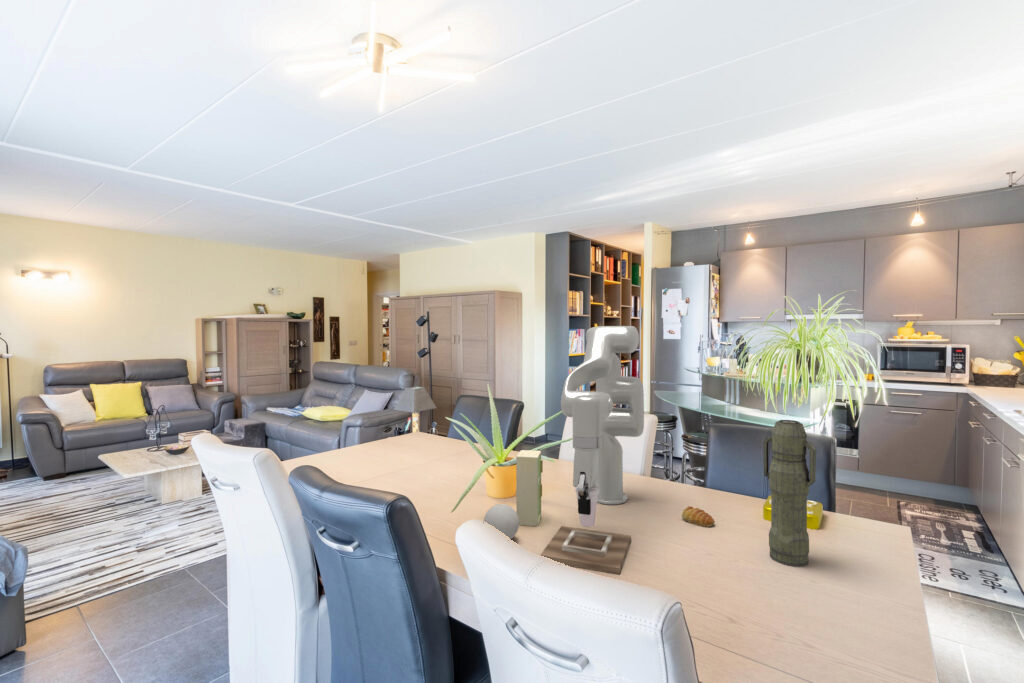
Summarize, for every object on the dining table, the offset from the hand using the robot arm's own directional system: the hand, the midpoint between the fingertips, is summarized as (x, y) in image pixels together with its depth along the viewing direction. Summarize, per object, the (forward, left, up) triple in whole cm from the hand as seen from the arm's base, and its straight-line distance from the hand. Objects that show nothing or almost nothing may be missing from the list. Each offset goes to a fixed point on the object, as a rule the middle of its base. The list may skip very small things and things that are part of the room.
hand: (587, 508), depth 131 cm
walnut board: (0, 0, -11) cm, 11 cm away
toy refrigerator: (-14, -21, -11) cm, 28 cm away
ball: (+2, -24, -11) cm, 27 cm away
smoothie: (0, 0, -4) cm, 4 cm away
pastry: (-31, +27, -12) cm, 43 cm away
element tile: (-45, +54, -12) cm, 71 cm away
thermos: (-13, +49, -11) cm, 52 cm away
